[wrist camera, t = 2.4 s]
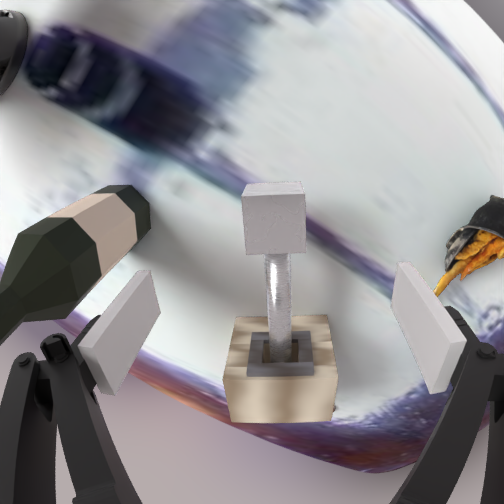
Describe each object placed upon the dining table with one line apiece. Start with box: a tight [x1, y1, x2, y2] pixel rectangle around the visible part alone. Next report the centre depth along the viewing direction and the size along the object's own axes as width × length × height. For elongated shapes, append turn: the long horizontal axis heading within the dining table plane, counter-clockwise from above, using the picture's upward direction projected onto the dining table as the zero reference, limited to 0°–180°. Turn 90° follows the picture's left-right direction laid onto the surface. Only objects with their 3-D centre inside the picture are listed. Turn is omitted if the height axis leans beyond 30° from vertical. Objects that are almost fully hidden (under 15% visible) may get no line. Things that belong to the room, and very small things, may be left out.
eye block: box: [223, 315, 338, 423], centre depth 37 cm, size 12×9×12 cm
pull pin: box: [241, 181, 306, 363], centre depth 32 cm, size 5×26×5 cm, turn 4°
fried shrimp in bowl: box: [433, 195, 504, 297], centre depth 31 cm, size 9×11×18 cm
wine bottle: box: [0, 185, 151, 345], centre depth 23 cm, size 8×8×30 cm
